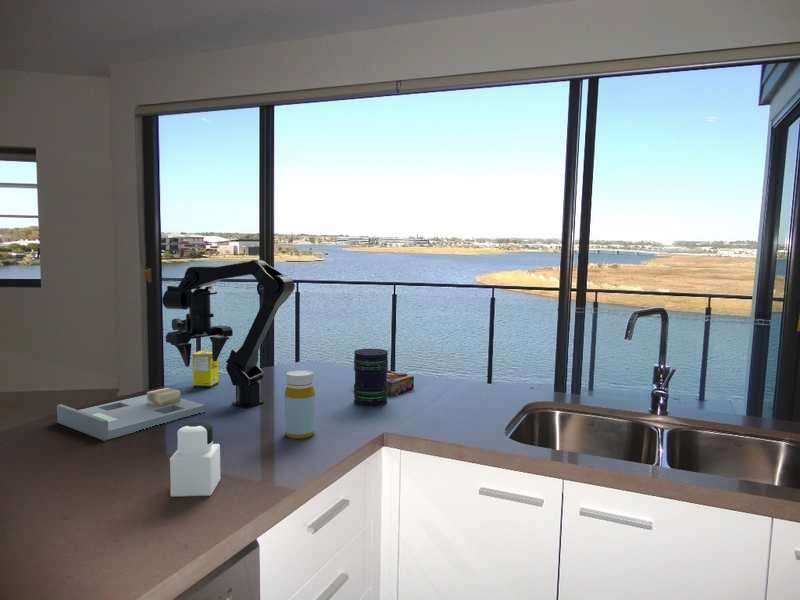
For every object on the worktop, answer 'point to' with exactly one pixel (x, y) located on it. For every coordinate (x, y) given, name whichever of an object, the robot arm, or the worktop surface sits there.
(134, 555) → the worktop surface
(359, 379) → the storage jar
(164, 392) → the beech block
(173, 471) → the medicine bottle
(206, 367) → the supplement box
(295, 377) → the bottle
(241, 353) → the robot arm
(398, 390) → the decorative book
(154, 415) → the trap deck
